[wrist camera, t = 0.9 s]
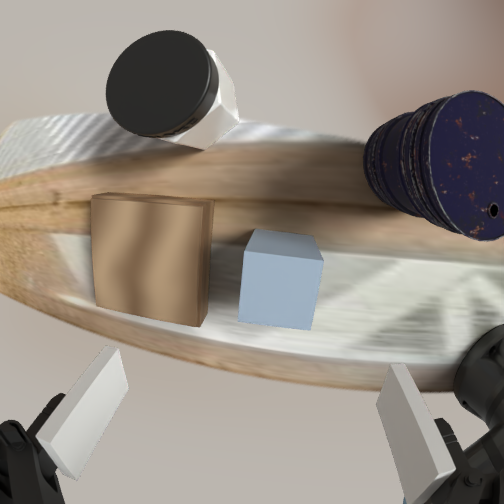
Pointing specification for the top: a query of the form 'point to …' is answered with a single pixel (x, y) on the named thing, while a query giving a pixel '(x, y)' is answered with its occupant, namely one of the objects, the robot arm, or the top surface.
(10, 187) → the top surface
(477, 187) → the dark blue upright cylinder
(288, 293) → the slate block
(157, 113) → the jar
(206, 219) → the base block
